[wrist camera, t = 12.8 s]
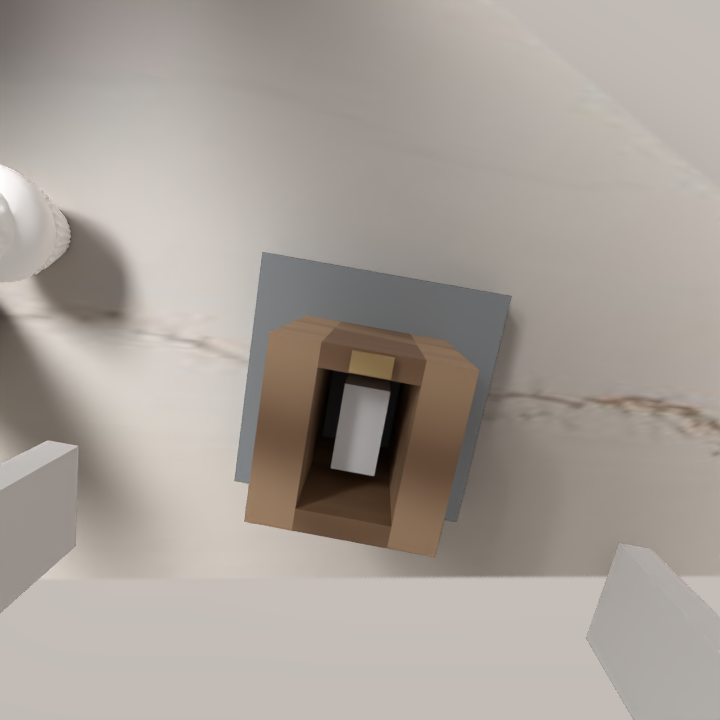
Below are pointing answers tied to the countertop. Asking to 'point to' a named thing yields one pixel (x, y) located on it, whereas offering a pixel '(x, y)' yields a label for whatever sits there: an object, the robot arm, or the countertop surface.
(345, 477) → the brown hollow block
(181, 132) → the countertop surface
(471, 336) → the shaft stand
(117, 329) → the countertop surface
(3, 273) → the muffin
